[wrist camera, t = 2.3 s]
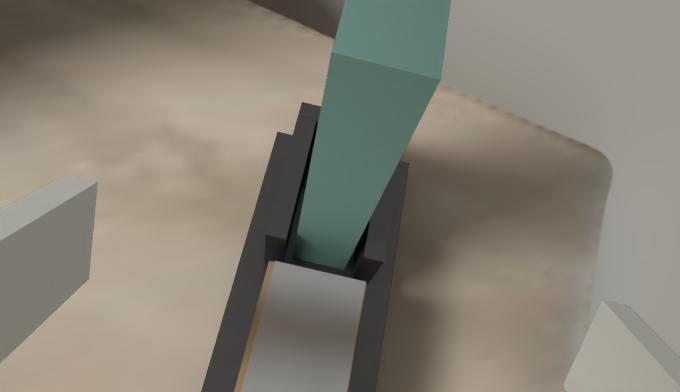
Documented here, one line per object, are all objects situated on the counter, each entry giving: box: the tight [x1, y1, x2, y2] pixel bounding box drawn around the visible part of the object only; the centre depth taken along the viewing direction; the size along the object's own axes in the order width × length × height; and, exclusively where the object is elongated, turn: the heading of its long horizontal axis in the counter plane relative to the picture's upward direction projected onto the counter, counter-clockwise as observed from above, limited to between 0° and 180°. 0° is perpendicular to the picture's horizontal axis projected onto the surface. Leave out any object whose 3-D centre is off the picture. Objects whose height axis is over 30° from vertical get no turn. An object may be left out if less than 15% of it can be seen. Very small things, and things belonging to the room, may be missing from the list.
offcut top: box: [241, 261, 366, 392], centre depth 27 cm, size 7×5×3 cm
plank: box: [292, 0, 451, 270], centre depth 26 cm, size 7×4×20 cm, turn 169°
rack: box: [201, 102, 409, 392], centre depth 31 cm, size 21×10×6 cm, turn 169°
